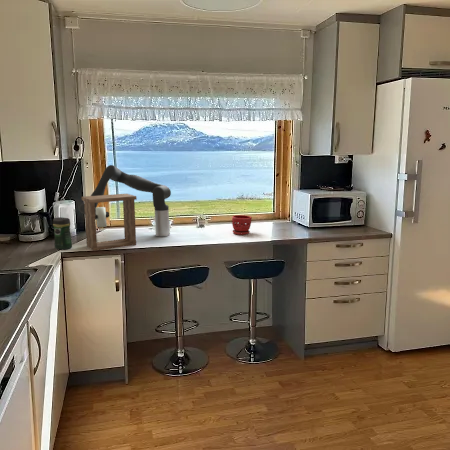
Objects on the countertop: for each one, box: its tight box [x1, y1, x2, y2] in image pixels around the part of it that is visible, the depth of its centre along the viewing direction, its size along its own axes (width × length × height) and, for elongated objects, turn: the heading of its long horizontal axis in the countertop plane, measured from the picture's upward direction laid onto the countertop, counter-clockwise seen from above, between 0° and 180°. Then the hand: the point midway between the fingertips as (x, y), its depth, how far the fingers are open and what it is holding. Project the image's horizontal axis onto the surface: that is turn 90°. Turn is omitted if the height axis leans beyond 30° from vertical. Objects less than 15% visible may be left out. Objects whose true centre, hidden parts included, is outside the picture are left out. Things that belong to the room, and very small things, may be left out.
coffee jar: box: [52, 216, 73, 250], centre depth 255 cm, size 10×8×19 cm
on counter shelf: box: [81, 193, 138, 252], centre depth 260 cm, size 16×28×30 cm, turn 124°
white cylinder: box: [96, 206, 108, 228], centre depth 275 cm, size 6×6×12 cm
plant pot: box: [231, 214, 252, 236], centre depth 295 cm, size 13×13×12 cm
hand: (102, 216), depth 273 cm, fingers closed on white cylinder, 6 cm apart
